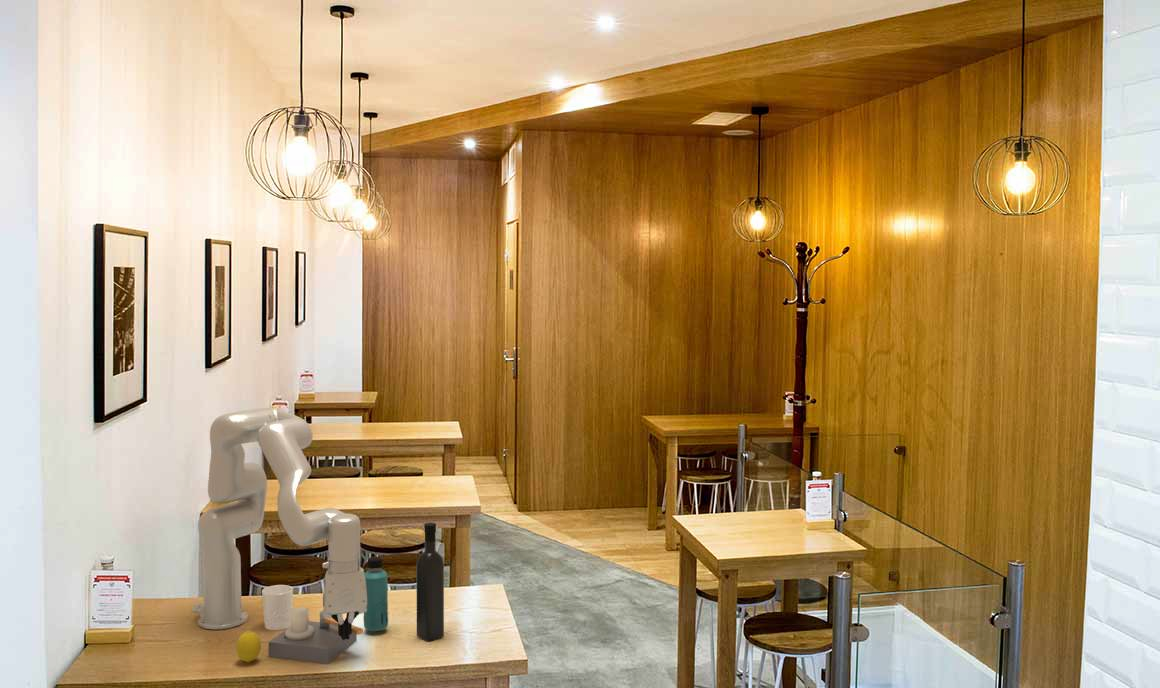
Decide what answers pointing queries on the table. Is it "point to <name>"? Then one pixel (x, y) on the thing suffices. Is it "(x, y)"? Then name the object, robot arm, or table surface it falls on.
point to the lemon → (248, 646)
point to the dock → (311, 645)
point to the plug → (299, 625)
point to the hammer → (336, 624)
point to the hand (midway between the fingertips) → (344, 637)
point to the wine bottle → (430, 589)
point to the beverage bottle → (376, 596)
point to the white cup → (277, 606)
